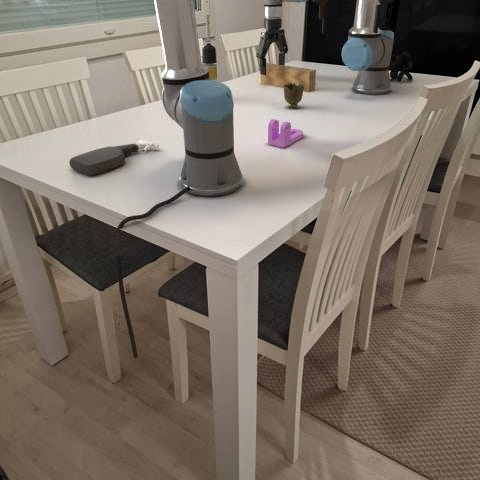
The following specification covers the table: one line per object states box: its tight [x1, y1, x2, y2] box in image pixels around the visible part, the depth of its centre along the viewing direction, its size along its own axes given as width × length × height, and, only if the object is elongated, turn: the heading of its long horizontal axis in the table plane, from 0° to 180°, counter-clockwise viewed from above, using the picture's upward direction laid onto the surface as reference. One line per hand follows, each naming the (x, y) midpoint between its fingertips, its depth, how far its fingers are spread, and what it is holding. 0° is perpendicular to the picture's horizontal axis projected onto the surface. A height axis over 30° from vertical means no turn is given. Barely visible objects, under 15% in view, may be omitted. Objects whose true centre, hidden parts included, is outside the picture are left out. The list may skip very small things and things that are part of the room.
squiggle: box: [389, 51, 414, 83], centre depth 198 cm, size 11×10×15 cm
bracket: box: [267, 118, 304, 148], centre depth 134 cm, size 13×6×7 cm, turn 143°
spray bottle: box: [68, 139, 160, 177], centre depth 124 cm, size 3×11×24 cm
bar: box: [260, 62, 317, 93], centre depth 192 cm, size 25×5×8 cm, turn 50°
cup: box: [283, 83, 304, 109], centre depth 164 cm, size 8×7×8 cm
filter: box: [201, 14, 218, 81], centre depth 171 cm, size 6×6×30 cm
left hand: (349, 32), depth 120 cm, fingers open, 13 cm apart
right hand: (272, 71), depth 196 cm, fingers open, 13 cm apart
